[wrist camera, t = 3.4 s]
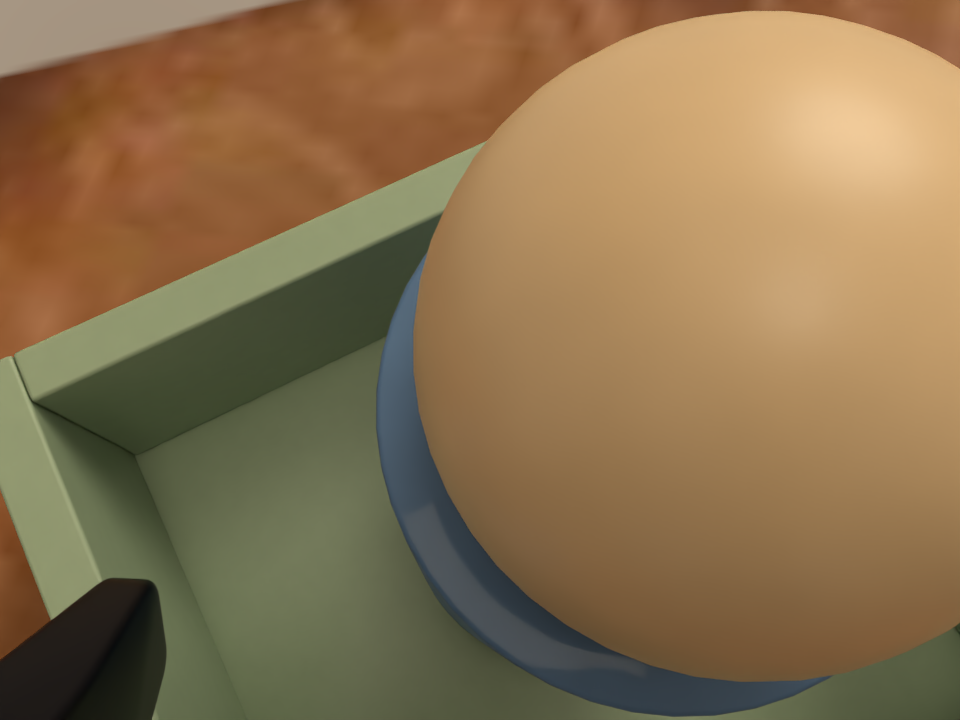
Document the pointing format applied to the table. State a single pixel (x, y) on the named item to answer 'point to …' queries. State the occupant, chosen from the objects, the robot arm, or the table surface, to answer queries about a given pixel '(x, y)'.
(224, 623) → the green square tray
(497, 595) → the peg doll
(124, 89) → the table surface
